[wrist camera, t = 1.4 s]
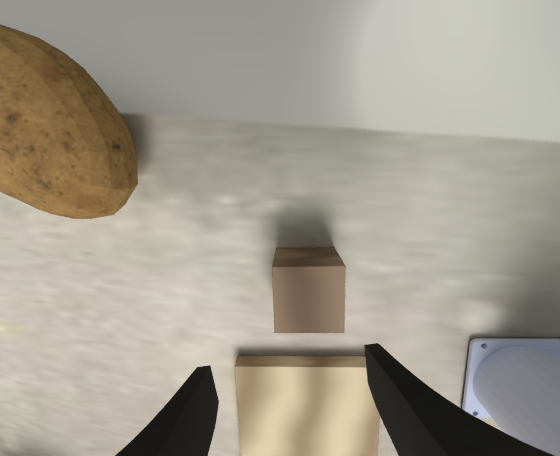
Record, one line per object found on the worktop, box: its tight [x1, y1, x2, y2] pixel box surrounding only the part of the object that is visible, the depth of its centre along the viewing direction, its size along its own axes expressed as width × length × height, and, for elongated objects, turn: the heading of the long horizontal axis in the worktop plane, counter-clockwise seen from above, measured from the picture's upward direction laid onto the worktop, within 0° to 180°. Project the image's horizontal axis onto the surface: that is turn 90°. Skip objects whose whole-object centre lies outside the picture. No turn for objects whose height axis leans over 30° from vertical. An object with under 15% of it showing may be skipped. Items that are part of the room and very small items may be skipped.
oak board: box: [235, 355, 380, 456], centre depth 26 cm, size 13×19×2 cm
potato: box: [0, 25, 138, 219], centre depth 18 cm, size 10×14×8 cm
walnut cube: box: [272, 247, 346, 333], centre depth 21 cm, size 5×5×5 cm
